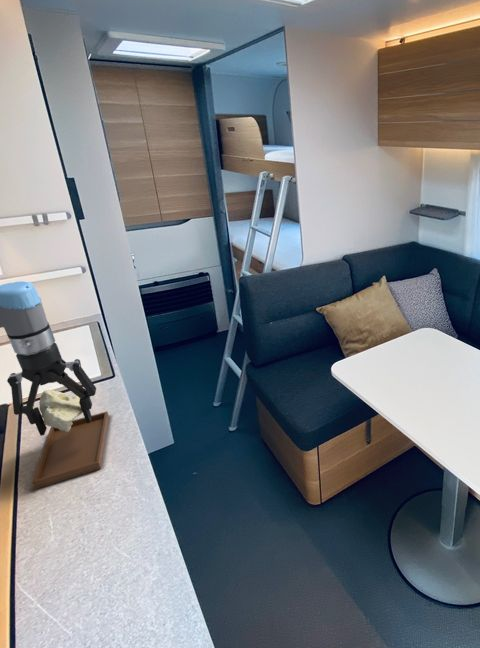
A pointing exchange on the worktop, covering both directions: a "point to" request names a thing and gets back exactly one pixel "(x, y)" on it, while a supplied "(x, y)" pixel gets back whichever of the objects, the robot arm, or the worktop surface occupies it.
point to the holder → (72, 451)
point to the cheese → (59, 409)
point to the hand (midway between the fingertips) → (66, 425)
